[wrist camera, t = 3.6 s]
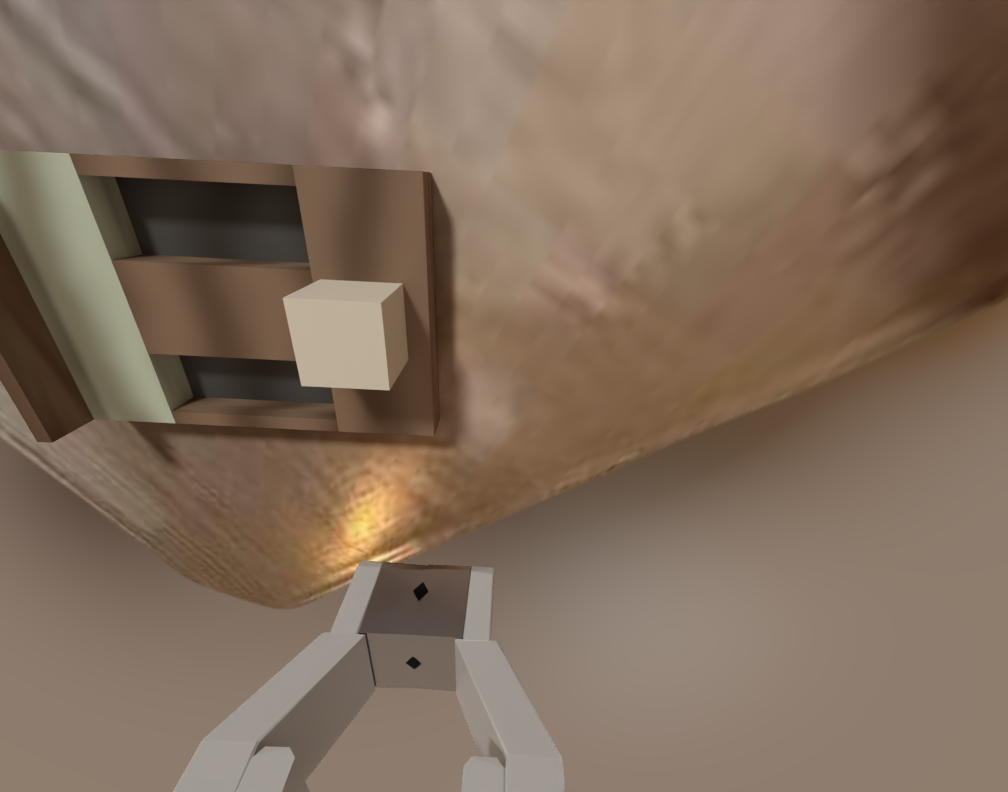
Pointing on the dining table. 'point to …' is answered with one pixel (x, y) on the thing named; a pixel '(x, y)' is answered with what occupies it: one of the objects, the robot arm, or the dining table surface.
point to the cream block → (348, 333)
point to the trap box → (201, 290)
